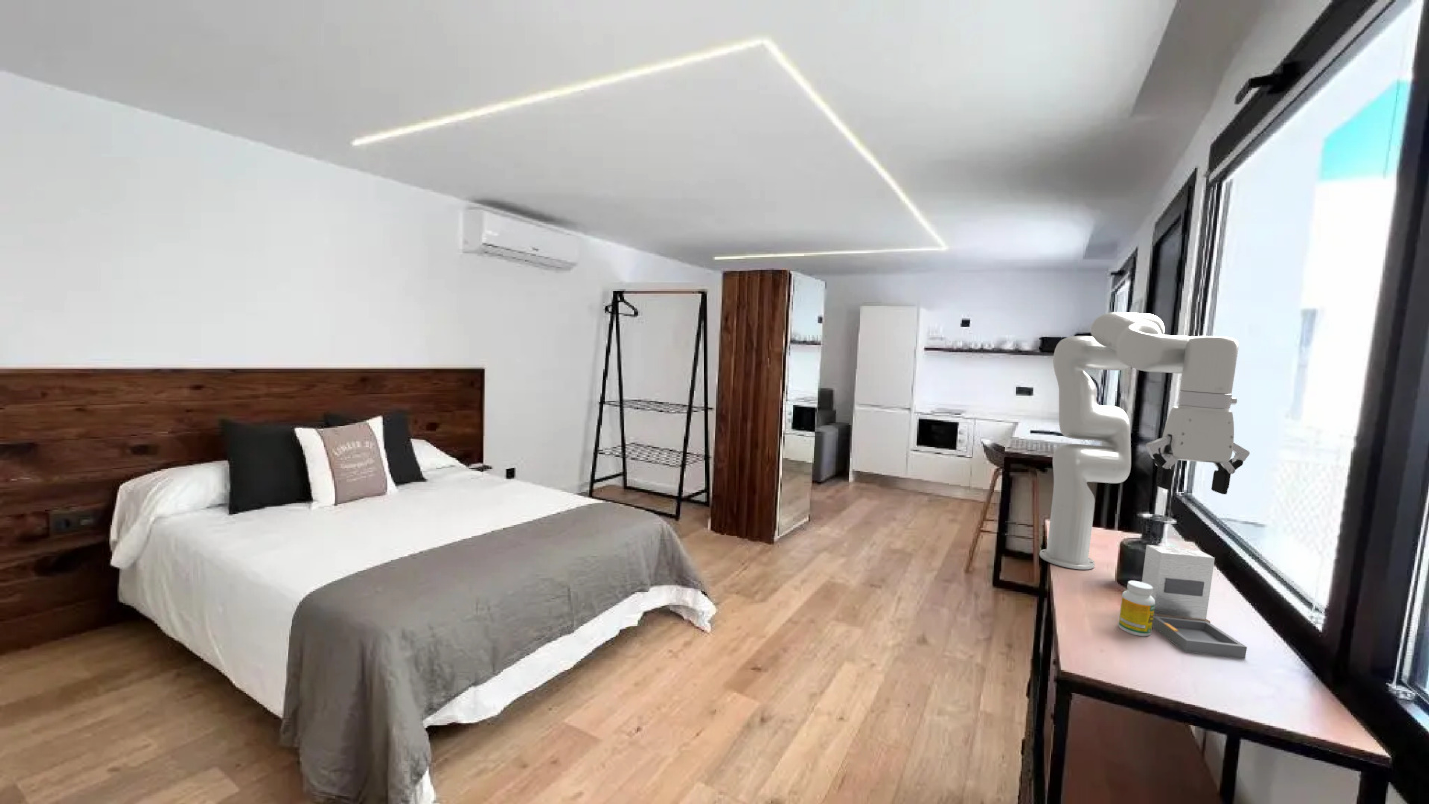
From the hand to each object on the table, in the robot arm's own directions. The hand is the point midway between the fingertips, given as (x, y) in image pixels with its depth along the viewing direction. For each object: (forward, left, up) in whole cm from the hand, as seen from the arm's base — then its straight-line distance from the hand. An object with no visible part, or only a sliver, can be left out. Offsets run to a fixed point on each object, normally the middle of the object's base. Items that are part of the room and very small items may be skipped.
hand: (1191, 490), depth 111 cm
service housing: (-9, +5, -30) cm, 31 cm away
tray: (+1, +4, -30) cm, 30 cm away
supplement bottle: (-1, -6, -30) cm, 30 cm away
